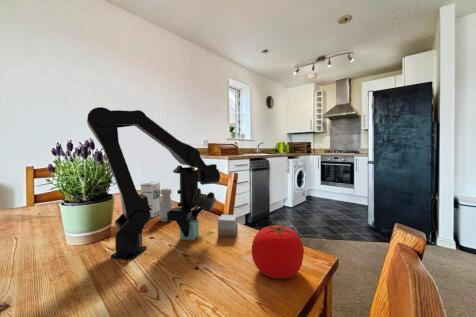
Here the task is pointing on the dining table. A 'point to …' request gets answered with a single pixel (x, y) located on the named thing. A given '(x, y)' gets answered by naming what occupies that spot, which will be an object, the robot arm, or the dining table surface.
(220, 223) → the tower upper
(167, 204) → the salt shaker
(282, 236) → the tomato
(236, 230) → the tower lower
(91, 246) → the dining table surface
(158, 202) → the syrup box
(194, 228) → the teal block
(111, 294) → the dining table surface
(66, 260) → the dining table surface
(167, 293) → the dining table surface
